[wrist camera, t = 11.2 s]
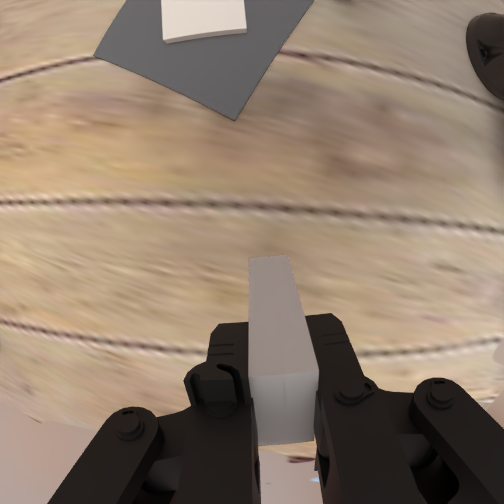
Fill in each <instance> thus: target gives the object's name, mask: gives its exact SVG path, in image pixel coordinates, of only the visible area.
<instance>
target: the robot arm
mask: <svg viewBox="0 0 504 504" xmlns="http://www.w3.org/2000/svg"><path fill="white" fill-rule="evenodd" d="M467 47H468V52H469V56H470V59H471V62H472V64H473V67H474V69H475V71H476V73H477V75H478V76H479V78H480V80H481V81H482V82H483V84H484V85H485V86H486V87H487V89H488V90H489V91H490V92H492V93H493V94H494V95H495V96H497V97H499V98H500V99H503V100H504V15H502V14H496V13H485V14H482V15H479V16H476V17H475V18H473V19H472V20H471V22H470V24H469V26H468V29H467ZM183 381H184V384H185V387H186V391H187V394H188V397H189V400H190V403H191V406H190V407H188V408H187V409H185V410H183V411H180V412H177V413H174V414H170V415H165V416H160V417H155V415H154V414H153V413H152V412H151V411H149V410H147V409H145V408H143V407H128V408H123V409H121V410H119V411H117V412H115V413H113V414H112V415H111V416H110V417H109V418H108V419H107V420H106V421H105V423H104V424H103V425H102V427H101V428H100V430H99V431H98V432H97V434H96V435H95V437H94V438H93V439H92V441H91V442H90V444H89V445H88V447H87V448H86V449H85V451H84V452H83V453H82V455H81V456H80V458H79V459H78V461H77V462H76V463H75V465H74V466H73V468H72V469H71V470H70V472H69V473H68V475H67V476H66V478H65V479H64V480H63V482H62V483H61V485H60V486H59V488H58V489H57V490H56V492H55V494H54V495H53V496H52V498H51V499H50V500H49V502H48V503H47V504H261V491H260V462H259V455H258V446H266V445H279V444H290V443H300V442H308V441H314V434H315V438H316V444H317V451H316V459H315V469H314V470H315V471H318V473H319V480H320V486H321V493H322V499H323V504H504V429H503V428H502V427H501V426H500V425H499V424H498V423H497V422H496V421H495V420H494V419H493V418H492V417H491V416H490V415H489V414H488V413H487V412H486V411H485V410H484V409H483V408H482V407H481V406H480V405H479V404H478V403H477V402H476V401H475V400H474V399H473V398H472V397H471V396H470V395H469V394H468V393H467V392H466V391H465V390H464V389H463V388H462V387H461V386H459V385H458V384H456V383H455V382H453V381H452V380H448V379H445V378H430V379H427V380H424V381H423V382H421V383H420V384H419V385H417V387H416V389H415V391H414V393H406V392H391V391H385V390H382V389H379V388H378V387H377V385H376V384H375V383H374V381H372V380H370V379H369V378H367V377H365V376H364V374H363V372H362V369H361V367H360V364H359V362H358V359H357V357H356V355H355V352H354V350H353V347H352V345H351V343H350V340H349V338H348V335H347V334H346V331H345V328H344V326H343V324H342V321H340V320H339V319H338V318H337V317H335V316H334V315H333V314H332V313H328V314H319V315H309V316H305V315H304V312H303V308H302V304H301V301H300V297H299V293H298V290H297V286H296V283H295V279H294V275H293V272H292V268H291V265H290V261H289V258H288V255H279V256H267V257H254V258H249V322H239V323H223V324H218V326H217V327H216V328H215V329H214V331H213V332H212V333H211V336H210V342H209V348H208V356H207V360H206V362H203V363H201V364H199V365H196V366H195V367H194V368H192V369H191V370H190V371H189V372H188V373H187V375H186V377H185V379H184V380H183Z"/></svg>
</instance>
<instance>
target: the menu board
mask: <svg viewBox="0 0 504 504" xmlns="http://www.w3.org/2000/svg"><path fill="white" fill-rule="evenodd" d="M161 7H162V30H163V40H164V41H165V42H166V43H167V44H169V43H174V42H179V41H185V40H191V39H198V38H205V37H212V36H220V35H230V34H240V33H247V27H246V17H245V7H244V0H161Z"/></svg>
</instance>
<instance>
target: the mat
mask: <svg viewBox="0 0 504 504" xmlns="http://www.w3.org/2000/svg"><path fill="white" fill-rule="evenodd" d="M313 1H314V0H244V7H245V17H246V27H247V33H240V34H230V35H220V36H212V37H205V38H198V39H191V40H185V41H179V42H174V43H169V44H167V43H166V42H165V41H164V40H163V30H162V7H161V0H126V2H125V3H124V5H123V6H122V8H121V9H120V11H119V13H118V14H117V16H116V17H115V19H114V20H113V22H112V24H111V25H110V27H109V29H108V30H107V32H106V34H105V35H104V37H103V39H102V40H101V42H100V44H99V46H98V47H97V49H96V51H95V53H94V55H93V56H96V57H98V58H101V59H104V60H106V61H109V62H111V63H114V64H116V65H118V66H121V67H123V68H126V69H128V70H130V71H133V72H135V73H137V74H140V75H142V76H144V77H147V78H149V79H151V80H153V81H156V82H158V83H160V84H162V85H164V86H166V87H169V88H171V89H173V90H175V91H177V92H179V93H181V94H183V95H185V96H187V97H189V98H191V99H193V100H196V101H198V102H200V103H202V104H203V105H205V106H207V107H209V108H211V109H213V110H215V111H217V112H219V113H221V114H223V115H225V116H227V117H228V118H230V119H232V120H234V121H235V120H236V118H237V116H238V115H239V113H240V111H241V110H242V108H243V107H244V105H245V103H246V102H247V100H248V98H249V97H250V95H251V93H252V92H253V90H254V89H255V87H256V85H257V84H258V82H259V81H260V79H261V78H262V76H263V74H264V73H265V71H266V70H267V68H268V67H269V65H270V64H271V62H272V61H273V59H274V58H275V56H276V54H277V53H278V51H279V50H280V48H281V47H282V46H283V44H284V43H285V41H286V40H287V38H288V37H289V35H290V34H291V32H292V31H293V29H294V28H295V27H296V25H297V24H298V22H299V21H300V19H301V18H302V17H303V15H304V14H305V12H306V11H307V10H308V8H309V7H310V5H311V4H312V3H313Z"/></svg>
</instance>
